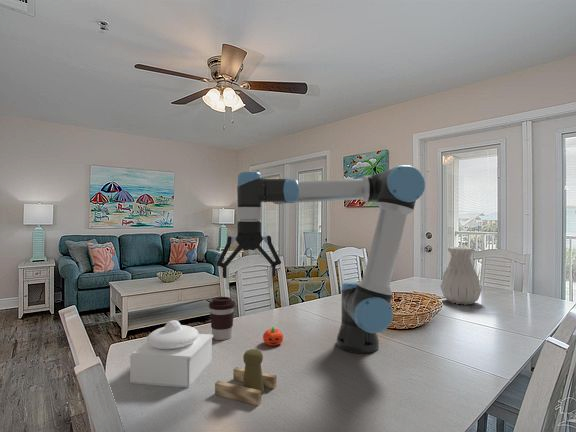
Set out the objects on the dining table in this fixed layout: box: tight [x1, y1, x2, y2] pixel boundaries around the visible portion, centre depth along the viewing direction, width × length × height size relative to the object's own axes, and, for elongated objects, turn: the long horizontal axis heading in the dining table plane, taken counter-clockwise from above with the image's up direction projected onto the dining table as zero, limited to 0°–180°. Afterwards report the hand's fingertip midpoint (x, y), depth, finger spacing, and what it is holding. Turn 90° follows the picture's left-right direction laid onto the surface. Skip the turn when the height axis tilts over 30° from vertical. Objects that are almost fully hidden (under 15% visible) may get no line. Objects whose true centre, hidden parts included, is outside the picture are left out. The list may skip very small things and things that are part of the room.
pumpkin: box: [262, 326, 284, 347], centre depth 125 cm, size 7×8×6 cm
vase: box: [440, 246, 482, 306], centre depth 186 cm, size 20×20×30 cm
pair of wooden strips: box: [214, 366, 277, 406], centre depth 92 cm, size 13×10×3 cm
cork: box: [242, 348, 265, 396], centre depth 91 cm, size 6×6×11 cm
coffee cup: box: [208, 296, 236, 341], centre depth 132 cm, size 10×10×15 cm
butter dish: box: [129, 319, 214, 389], centre depth 103 cm, size 18×18×16 cm
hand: (249, 287), depth 108 cm, fingers open, 13 cm apart
